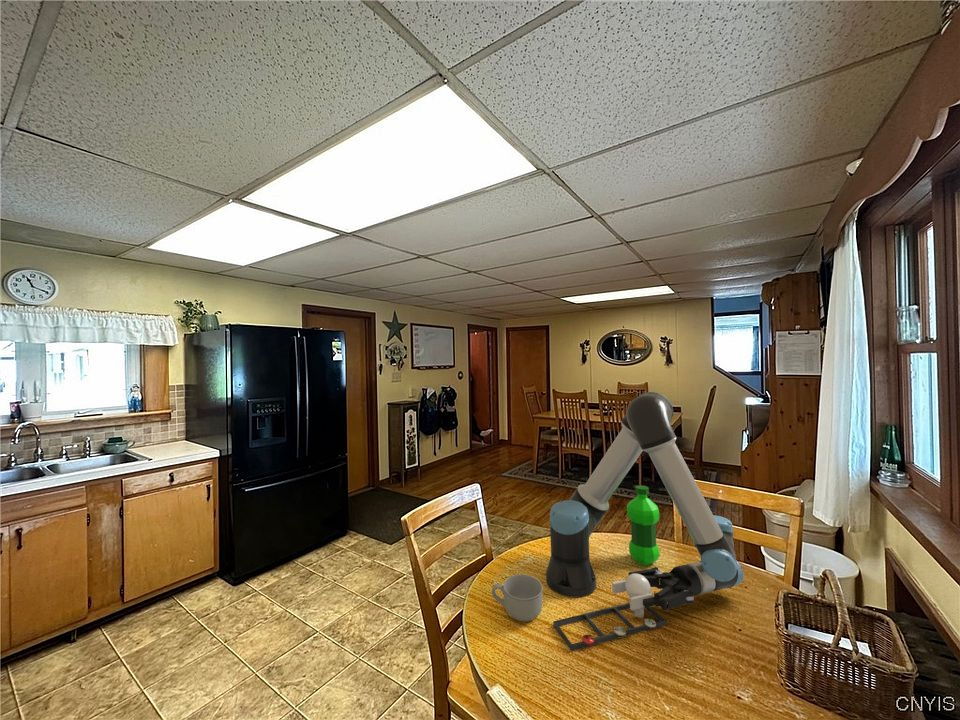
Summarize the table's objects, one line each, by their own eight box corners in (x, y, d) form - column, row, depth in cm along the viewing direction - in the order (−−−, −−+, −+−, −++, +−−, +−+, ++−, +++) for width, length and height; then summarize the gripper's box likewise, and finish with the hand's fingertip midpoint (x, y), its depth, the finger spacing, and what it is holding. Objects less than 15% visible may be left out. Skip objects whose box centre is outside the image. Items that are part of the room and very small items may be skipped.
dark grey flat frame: (553, 626, 98) (553, 619, 98) (641, 604, 106) (641, 598, 106) (573, 654, 88) (573, 647, 88) (669, 628, 96) (669, 621, 96)
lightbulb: (646, 609, 103) (645, 568, 103) (655, 625, 96) (654, 582, 97) (623, 608, 103) (621, 568, 104) (629, 624, 97) (628, 581, 97)
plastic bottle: (657, 572, 121) (654, 494, 121) (623, 562, 128) (621, 488, 128) (664, 559, 129) (662, 486, 129) (632, 550, 136) (630, 480, 136)
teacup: (546, 605, 106) (545, 577, 106) (539, 632, 96) (538, 600, 96) (498, 597, 111) (498, 569, 111) (487, 621, 100) (486, 590, 100)
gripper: (723, 614, 96) (648, 635, 89) (665, 574, 114) (600, 589, 108) (722, 585, 96) (647, 603, 89) (665, 549, 115) (599, 563, 108)
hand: (621, 595), depth 99 cm, fingers closed on lightbulb, 6 cm apart
